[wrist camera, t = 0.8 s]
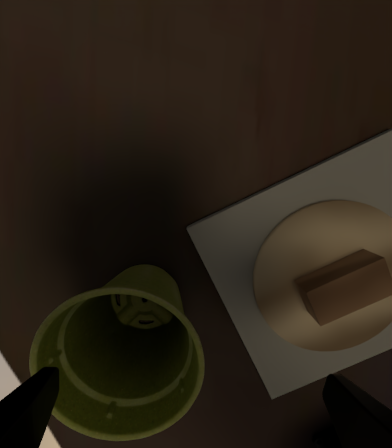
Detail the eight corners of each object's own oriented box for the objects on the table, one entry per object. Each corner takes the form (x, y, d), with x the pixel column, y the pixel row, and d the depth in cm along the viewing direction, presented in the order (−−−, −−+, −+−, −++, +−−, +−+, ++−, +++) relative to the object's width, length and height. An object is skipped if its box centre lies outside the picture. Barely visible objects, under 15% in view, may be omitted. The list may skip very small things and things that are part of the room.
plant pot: (85, 246, 21) (14, 294, 12) (196, 241, 21) (201, 284, 13) (98, 345, 23) (43, 446, 14) (200, 340, 23) (207, 436, 14)
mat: (446, 313, 23) (458, 320, 22) (268, 390, 24) (271, 399, 23) (389, 129, 20) (399, 126, 19) (186, 226, 21) (186, 228, 20)
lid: (423, 308, 22) (460, 328, 19) (286, 367, 22) (301, 396, 20) (378, 171, 19) (411, 170, 16) (227, 242, 20) (233, 253, 17)
